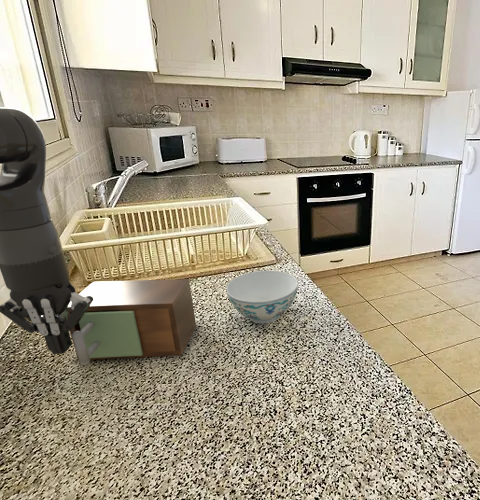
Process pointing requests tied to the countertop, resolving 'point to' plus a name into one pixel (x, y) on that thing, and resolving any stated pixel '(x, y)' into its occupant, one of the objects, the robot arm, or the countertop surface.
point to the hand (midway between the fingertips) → (61, 350)
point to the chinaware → (262, 294)
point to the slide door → (107, 336)
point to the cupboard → (148, 312)
